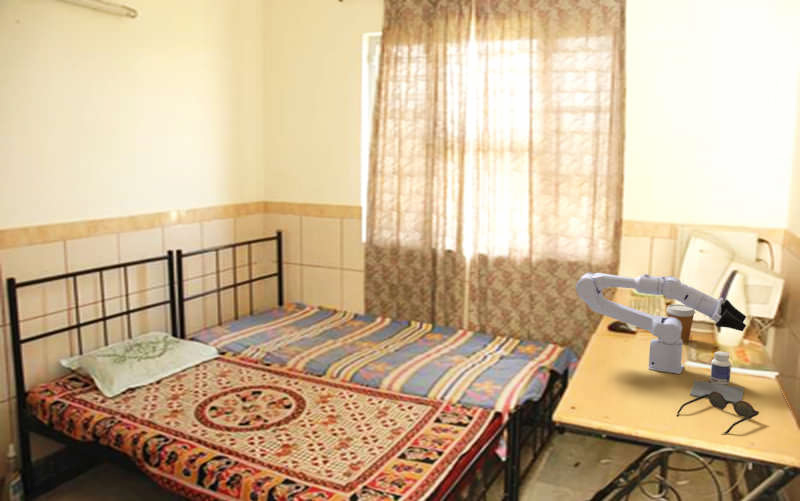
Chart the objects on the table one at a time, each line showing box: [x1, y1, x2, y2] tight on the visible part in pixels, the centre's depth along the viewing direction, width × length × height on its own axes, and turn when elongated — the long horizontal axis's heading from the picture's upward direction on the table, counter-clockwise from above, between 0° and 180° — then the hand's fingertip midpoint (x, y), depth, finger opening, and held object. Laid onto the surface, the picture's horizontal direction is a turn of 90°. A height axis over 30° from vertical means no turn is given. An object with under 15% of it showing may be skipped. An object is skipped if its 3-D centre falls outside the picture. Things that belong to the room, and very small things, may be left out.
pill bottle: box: [709, 350, 732, 385], centre depth 197 cm, size 5×5×9 cm
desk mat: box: [689, 379, 745, 403], centre depth 190 cm, size 13×12×1 cm
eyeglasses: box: [676, 391, 760, 434], centre depth 172 cm, size 15×15×5 cm
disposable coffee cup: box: [665, 303, 696, 344], centre depth 236 cm, size 10×10×12 cm
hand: (744, 323), depth 197 cm, fingers open, 7 cm apart
